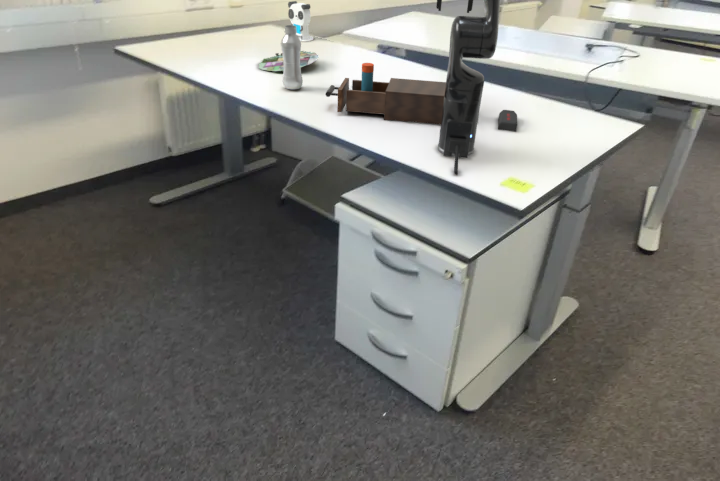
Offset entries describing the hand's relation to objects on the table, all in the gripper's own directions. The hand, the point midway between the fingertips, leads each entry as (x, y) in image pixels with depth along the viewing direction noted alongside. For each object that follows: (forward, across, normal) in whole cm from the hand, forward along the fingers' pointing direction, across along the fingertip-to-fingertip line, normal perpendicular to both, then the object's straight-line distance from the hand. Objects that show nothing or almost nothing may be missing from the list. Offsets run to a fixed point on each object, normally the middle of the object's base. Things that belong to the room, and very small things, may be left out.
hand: (453, 11), depth 164 cm
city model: (+27, -60, +25) cm, 70 cm away
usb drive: (+28, +20, -17) cm, 38 cm away
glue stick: (+25, -23, -16) cm, 38 cm away
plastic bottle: (+27, -51, -2) cm, 58 cm away
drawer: (+26, -24, -16) cm, 39 cm away
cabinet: (+27, -7, -16) cm, 33 cm away
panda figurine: (+26, -68, +70) cm, 100 cm away
